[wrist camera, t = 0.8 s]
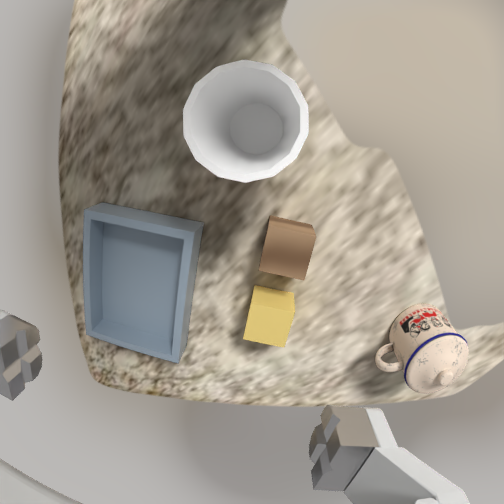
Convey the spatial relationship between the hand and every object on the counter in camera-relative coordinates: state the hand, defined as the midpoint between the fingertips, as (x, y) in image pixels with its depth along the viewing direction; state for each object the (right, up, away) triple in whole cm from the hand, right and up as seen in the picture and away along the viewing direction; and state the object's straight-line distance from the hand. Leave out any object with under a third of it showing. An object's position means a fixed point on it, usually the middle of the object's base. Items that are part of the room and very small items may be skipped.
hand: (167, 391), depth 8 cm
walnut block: (+6, +5, +31) cm, 32 cm away
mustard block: (+4, -3, +34) cm, 34 cm away
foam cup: (+3, +17, +27) cm, 32 cm away
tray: (-12, 0, +34) cm, 36 cm away
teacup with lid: (+24, -8, +34) cm, 42 cm away
